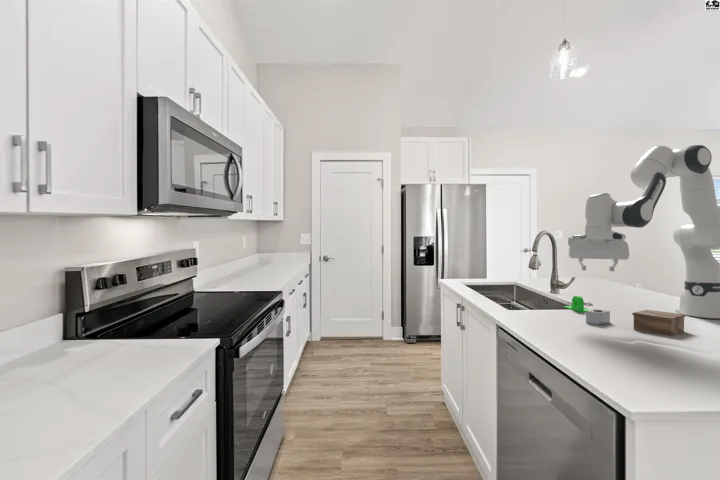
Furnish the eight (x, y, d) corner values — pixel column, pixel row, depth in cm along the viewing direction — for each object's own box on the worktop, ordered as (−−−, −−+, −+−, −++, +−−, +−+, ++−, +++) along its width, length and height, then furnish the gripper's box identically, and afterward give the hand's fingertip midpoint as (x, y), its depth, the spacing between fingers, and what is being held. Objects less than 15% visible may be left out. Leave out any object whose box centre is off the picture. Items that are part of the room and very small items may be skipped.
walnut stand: (646, 325, 154) (646, 309, 154) (685, 331, 144) (685, 314, 144) (632, 329, 148) (632, 312, 148) (671, 335, 138) (671, 318, 138)
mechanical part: (592, 315, 176) (592, 296, 176) (579, 315, 175) (579, 296, 175) (575, 310, 188) (575, 293, 188) (563, 310, 187) (563, 293, 187)
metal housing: (596, 321, 162) (596, 308, 162) (609, 323, 158) (609, 310, 158) (585, 324, 157) (586, 310, 157) (599, 326, 153) (599, 312, 153)
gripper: (568, 234, 159) (568, 270, 159) (630, 235, 150) (630, 272, 151) (567, 235, 164) (567, 269, 164) (627, 235, 156) (626, 271, 156)
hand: (597, 270), depth 157 cm, fingers open, 8 cm apart
